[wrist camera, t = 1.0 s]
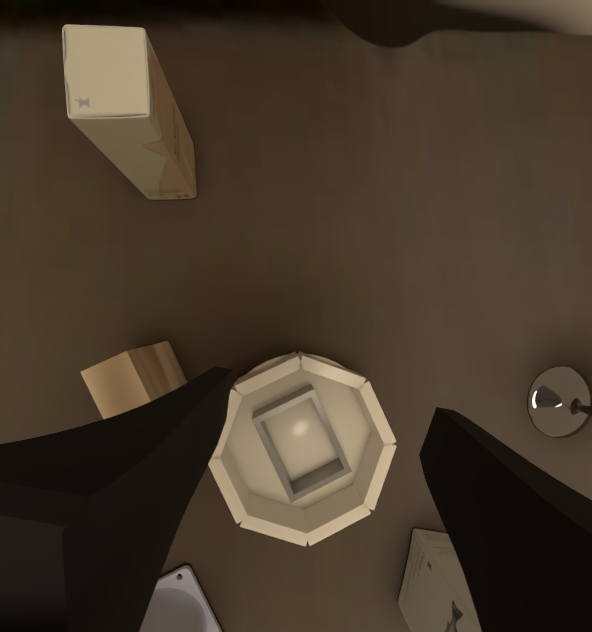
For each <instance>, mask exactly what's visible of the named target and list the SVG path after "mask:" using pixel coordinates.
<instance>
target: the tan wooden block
mask: <svg viewBox="0 0 592 632" xmlns="http://www.w3.org/2000/svg"><path fill="white" fill-rule="evenodd" d="M81 374H82V376H83V378H84V381H85V383H86V385H87V387H88V389H89V391H90V393H91V395H92V397H93V399H94V401H95V403H96V405H97V407H98V409H99V411H100V413H101V415H102V417H103V419H106V418H110V417H113V416H116V415H118V414H121V413H124V412H126V411H129V410H132V409H134V408H137V407H139V406H142V405H144V404H146V403H149V402H151V401H153V400H155V399H157V398H159V397H161V396H163V395H165V394H167V393H169V392H171V391H173V390H175V389H177V388H179V387H181V386H182V385H184V384H186V383H188V381H187V379H186V377H185V375H184V373H183V371H182V369H181V367H180V365H179V363H178V361H177V358H176V356H175V354H174V352H173V350H172V348H171V346H170V344H169V342H168V341H165V342H161V343H157V344H153V345H149V346H145V347H141V348H137V349H133V350H129V351H126V352H124V353H121V354H119V355H117V356H115V357H112V358H110V359H108V360H106V361H104V362H101V363H99V364H97V365H95V366H92V367H90V368H88V369H86V370H84V371H81Z"/></svg>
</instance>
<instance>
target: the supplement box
mask: <svg viewBox="0 0 592 632" xmlns="http://www.w3.org/2000/svg"><path fill="white" fill-rule="evenodd" d="M398 605H399V607H400V609H401V612H402V614H403V616H404V618H405V621H406V623H407V625H408V627H409V630H410V632H482V631H481V627H480V624H479V620H478V617H477V613H476V610H475V607H474V604H473V601H472V598H471V595H470V592H469V588H468V585H467V582H466V579H465V576H464V573H463V570H462V568H461V565H460V562H459V560H458V557H457V554H456V552H455V550H454V547H453V545H452V543H451V540H450V538H449V536H448V534H447V533H441V532H435V531H429V530H424V529H413V533H412V540H411V546H410V551H409V556H408V561H407V565H406V570H405V574H404V578H403V583H402V587H401V591H400V595H399V599H398Z"/></svg>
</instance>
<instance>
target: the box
mask: <svg viewBox="0 0 592 632" xmlns="http://www.w3.org/2000/svg"><path fill="white" fill-rule="evenodd" d="M62 36H63V58H64V76H65V89H66V101H67V114H68V117H69V119H70V120H71V121H72V122H73V123H74V124H75V125H76V126H77V127H78V128H79V129H80V130H81V131H82V132H83V133H84V134H85V135H86V136H87V137H88V138H89V139H90V140H91V141H92V142H93V143H94V144H95V145H96V146H97V147H98V148H99V149H100V150H101V151H102V152H103V153H104V154H105V156H106V157H108V159H109V160H110V161H111V162H112V163H113V164H114V165H115V166H116V167H117V168H118V169H119V170H120V171H121V172H122V173H123V174H124V175H125V176H126V177H127V178H128V179H129V180H130V181H131V182H132V183H133V184H134V185H135V186H136V187H137V188H138V189H139V190H140V191H141V192H142V193H143V194H144V195H145V196H146V197H147V198H148V199H150V200H170V199H191V198H196V196H197V192H196V173H195V157H194V145H193V142H192V140H191V137H190V135H189V133H188V130H187V128H186V125H185V123H184V120H183V118H182V116H181V113H180V111H179V109H178V106H177V104H176V102H175V100H174V97H173V95H172V93H171V90H170V88H169V85H168V83H167V81H166V78H165V76H164V74H163V71H162V69H161V67H160V64H159V62H158V60H157V57H156V55H155V53H154V50H153V48H152V46H151V43H150V41H149V38H148V36H147V34H146V31H145V29H143V28H136V27H117V26H92V25H65V26H64V27H63V30H62Z"/></svg>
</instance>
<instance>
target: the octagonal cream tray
mask: <svg viewBox="0 0 592 632" xmlns="http://www.w3.org/2000/svg"><path fill="white" fill-rule="evenodd" d="M395 442H396V440H395V438H394V435H393V433H392V431H391V429H390V426H389V424H388V422H387V420H386V418H385V415H384V413H383V411H382V409H381V407H380V404H379V402H378V400H377V398H376V396H375V393H374V391H373V389H372V387H371V384H370V382H369V381H368V380H366V378H365V377H363V376H361V375H360V374H358V373H357V372H355V371H352V370H350V369H347V368H344V367H343V366H341V365H340V364H338V363H336V362H335V361H332V360H330V359H328V358H325V357H322V356H318V355H313V354H306V353H303V352H300V351H299V352H298V353H296V352H292V353H290V354H286V355H282V356H278V357H274V358H272V359H269V360H267V361H265V362H263V363H261V364H259V365H257V366H256V367H255V368H253V369H252V370H250V371H249V372H248V373H247V374H246V375H244V376H242V377H240V378H238V380H237V382H236V381H235V383H234V385H233V387H232V389H231V392H230V395H229V403H228V411H227V419H226V422H225V425H224V428H223V431H222V434H221V436H220V439H219V442H218V445H217V447H216V449H215V451H214V453H213V455H212V457H211V459H210V461H209V463H208V465H209V467H210V469H211V472H212V474H213V476H214V478H215V480H216V482H217V484H218V486H219V488H220V490H221V492H222V494H223V496H224V499H225V501H226V503H227V505H228V507H229V509H230V511H231V513H232V515H233V517H234V519H235V521H236V523H239V522H241V524H240V527H243V528H246V529H249V530H253V531H256V532H259V533H262V534H266V535H269V536H272V537H276V538H279V539H282V540H286V541H289V542H292V543H295V544H299V545H302V546H306V544H307V541H308V543H309V545H310V546H311V545H313V544H315V543H317V542H319V541H321V540H322V539H324V538H326V537H328V536H330V535H332V534H334V533H336V532H337V531H339V530H341V529H343V528H345V527H347V526H349V525H351V524H353V523H354V522H356V521H358V520H360V519H362V518H364V517H366V516H368V515H369V514H371V513H370V511H369V509H372V510H374V509H375V506H376V503H377V500H378V497H379V494H380V492H381V489H382V486H383V483H384V480H385V477H386V475H387V472H388V469H389V466H390V463H391V460H392V458H393V455H394V452H395V449H396V445H395V444H394V443H395ZM368 508H369V509H368Z"/></svg>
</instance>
